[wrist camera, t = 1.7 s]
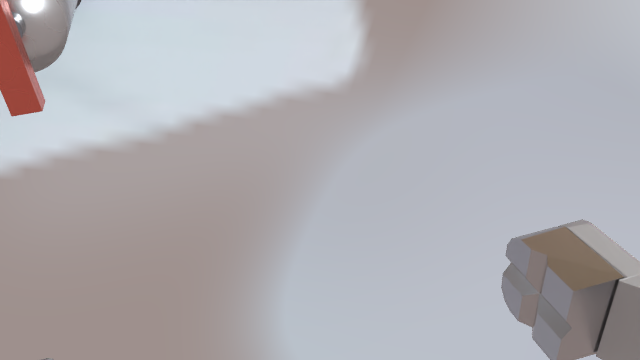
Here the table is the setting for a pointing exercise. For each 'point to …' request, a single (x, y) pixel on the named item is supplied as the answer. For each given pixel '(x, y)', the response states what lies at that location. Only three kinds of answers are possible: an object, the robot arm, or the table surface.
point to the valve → (30, 47)
